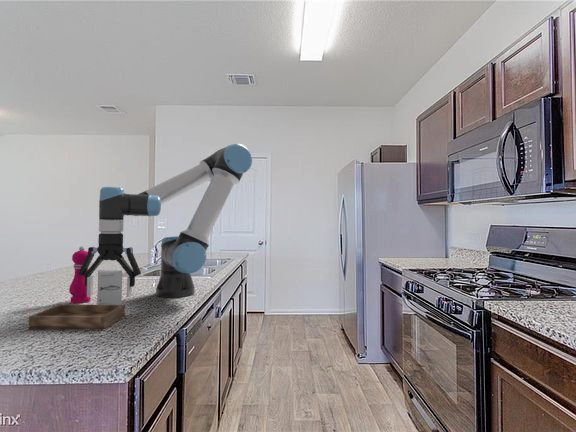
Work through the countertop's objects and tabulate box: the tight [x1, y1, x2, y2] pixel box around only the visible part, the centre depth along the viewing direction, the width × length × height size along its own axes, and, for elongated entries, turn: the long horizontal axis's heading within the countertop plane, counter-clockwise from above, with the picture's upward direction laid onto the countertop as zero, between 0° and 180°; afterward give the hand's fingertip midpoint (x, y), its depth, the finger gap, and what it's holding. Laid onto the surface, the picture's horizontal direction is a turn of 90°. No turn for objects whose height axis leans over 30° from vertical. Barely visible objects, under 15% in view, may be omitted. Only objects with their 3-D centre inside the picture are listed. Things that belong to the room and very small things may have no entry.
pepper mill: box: [68, 245, 92, 304], centre depth 131 cm, size 7×7×20 cm
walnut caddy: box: [28, 303, 126, 331], centre depth 105 cm, size 20×14×4 cm
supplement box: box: [96, 269, 123, 305], centre depth 122 cm, size 7×7×13 cm
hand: (109, 296), depth 122 cm, fingers open, 12 cm apart
